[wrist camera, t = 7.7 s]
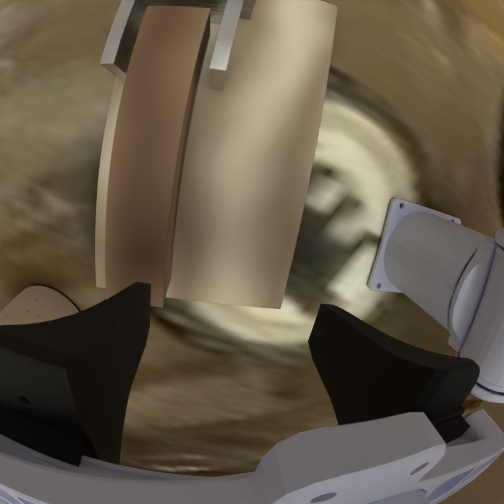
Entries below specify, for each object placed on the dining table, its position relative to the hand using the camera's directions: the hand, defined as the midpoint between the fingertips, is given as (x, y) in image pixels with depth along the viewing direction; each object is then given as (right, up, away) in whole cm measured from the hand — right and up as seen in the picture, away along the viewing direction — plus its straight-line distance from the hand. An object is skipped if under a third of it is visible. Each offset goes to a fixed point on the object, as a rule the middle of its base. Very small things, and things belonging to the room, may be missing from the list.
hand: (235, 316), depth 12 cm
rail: (-5, +9, +5) cm, 12 cm away
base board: (-2, +11, +6) cm, 12 cm away
